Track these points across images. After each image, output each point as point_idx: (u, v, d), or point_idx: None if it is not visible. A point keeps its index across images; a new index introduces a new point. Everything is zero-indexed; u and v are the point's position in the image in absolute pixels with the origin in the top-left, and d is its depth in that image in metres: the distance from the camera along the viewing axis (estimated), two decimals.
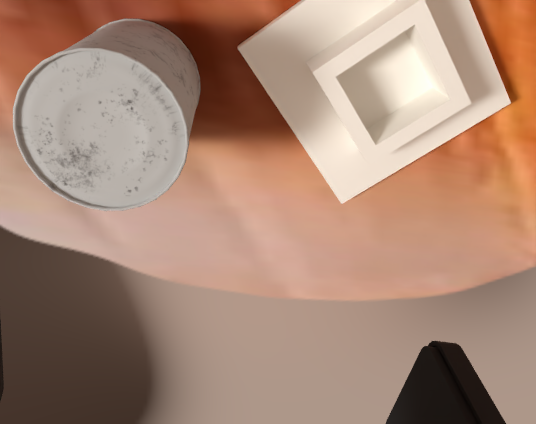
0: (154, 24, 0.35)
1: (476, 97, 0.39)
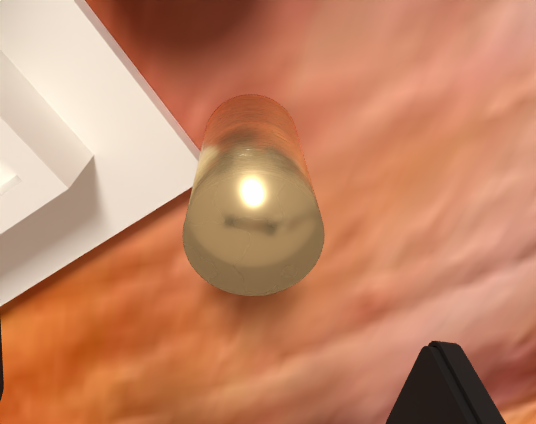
0: None
1: None
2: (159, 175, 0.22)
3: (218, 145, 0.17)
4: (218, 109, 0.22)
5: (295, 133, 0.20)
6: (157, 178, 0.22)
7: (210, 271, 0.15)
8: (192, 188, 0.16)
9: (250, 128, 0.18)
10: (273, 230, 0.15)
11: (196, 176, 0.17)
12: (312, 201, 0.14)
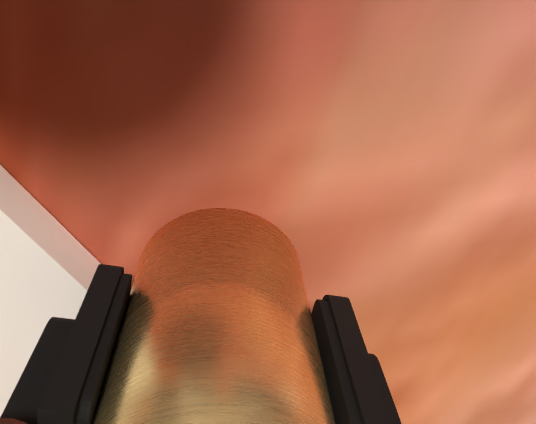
0: None
1: None
2: None
3: (128, 404, 0.07)
4: (158, 238, 0.12)
5: (301, 299, 0.10)
6: None
7: None
8: None
9: (206, 348, 0.08)
10: None
11: None
12: None
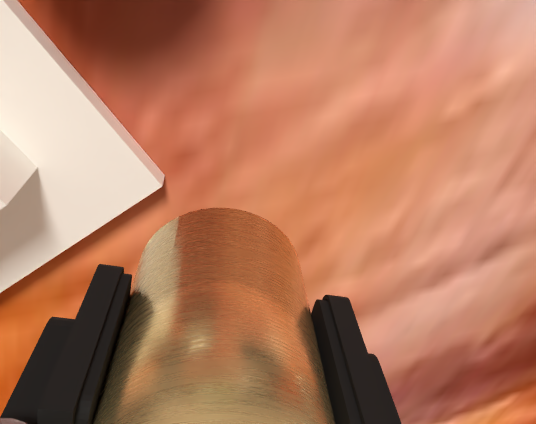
0: None
1: None
2: (109, 187, 0.21)
3: (128, 403, 0.07)
4: (158, 237, 0.12)
5: (301, 298, 0.10)
6: (106, 190, 0.21)
7: None
8: None
9: (206, 346, 0.08)
10: None
11: None
12: None
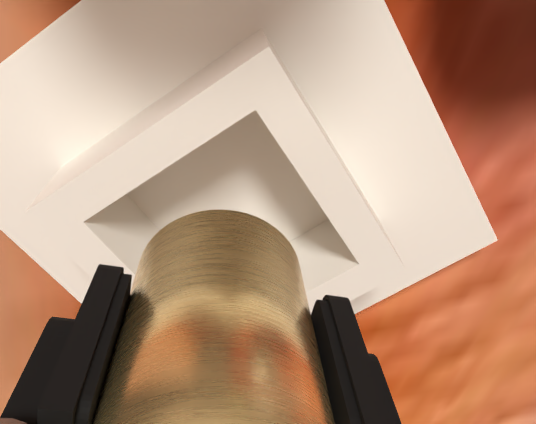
0: None
1: None
2: (443, 240, 0.20)
3: (127, 407, 0.07)
4: (157, 239, 0.12)
5: (301, 301, 0.10)
6: (440, 243, 0.20)
7: None
8: None
9: (205, 351, 0.08)
10: None
11: None
12: None
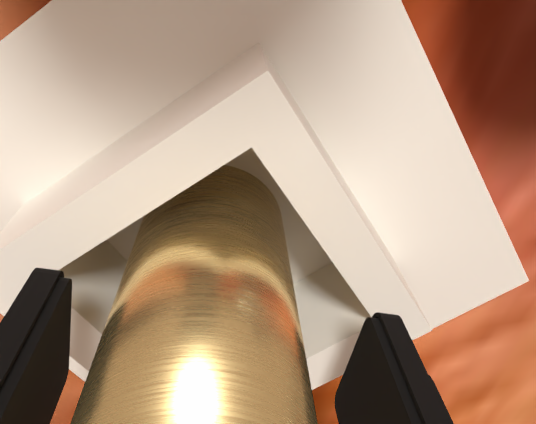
0: None
1: None
2: (467, 281, 0.17)
3: (138, 289, 0.10)
4: None
5: (278, 233, 0.13)
6: (463, 285, 0.17)
7: None
8: None
9: (197, 252, 0.10)
10: None
11: None
12: None
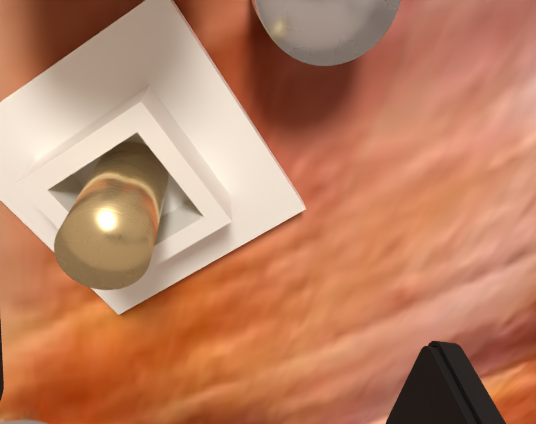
0: None
1: None
2: (272, 208, 0.32)
3: (88, 186, 0.24)
4: None
5: (157, 172, 0.28)
6: (270, 210, 0.33)
7: (76, 274, 0.23)
8: None
9: (113, 173, 0.25)
10: (115, 246, 0.22)
11: None
12: (139, 227, 0.22)
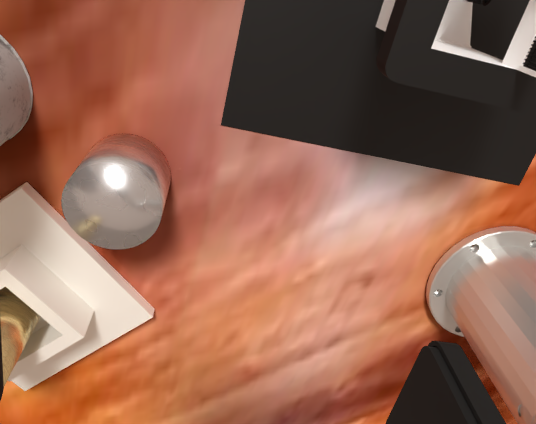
0: (29, 108, 0.35)
1: None
2: (127, 317, 0.44)
3: None
4: None
5: None
6: (126, 319, 0.44)
7: None
8: None
9: None
10: None
11: None
12: None
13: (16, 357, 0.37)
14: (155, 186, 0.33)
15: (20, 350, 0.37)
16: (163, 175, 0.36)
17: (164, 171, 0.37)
